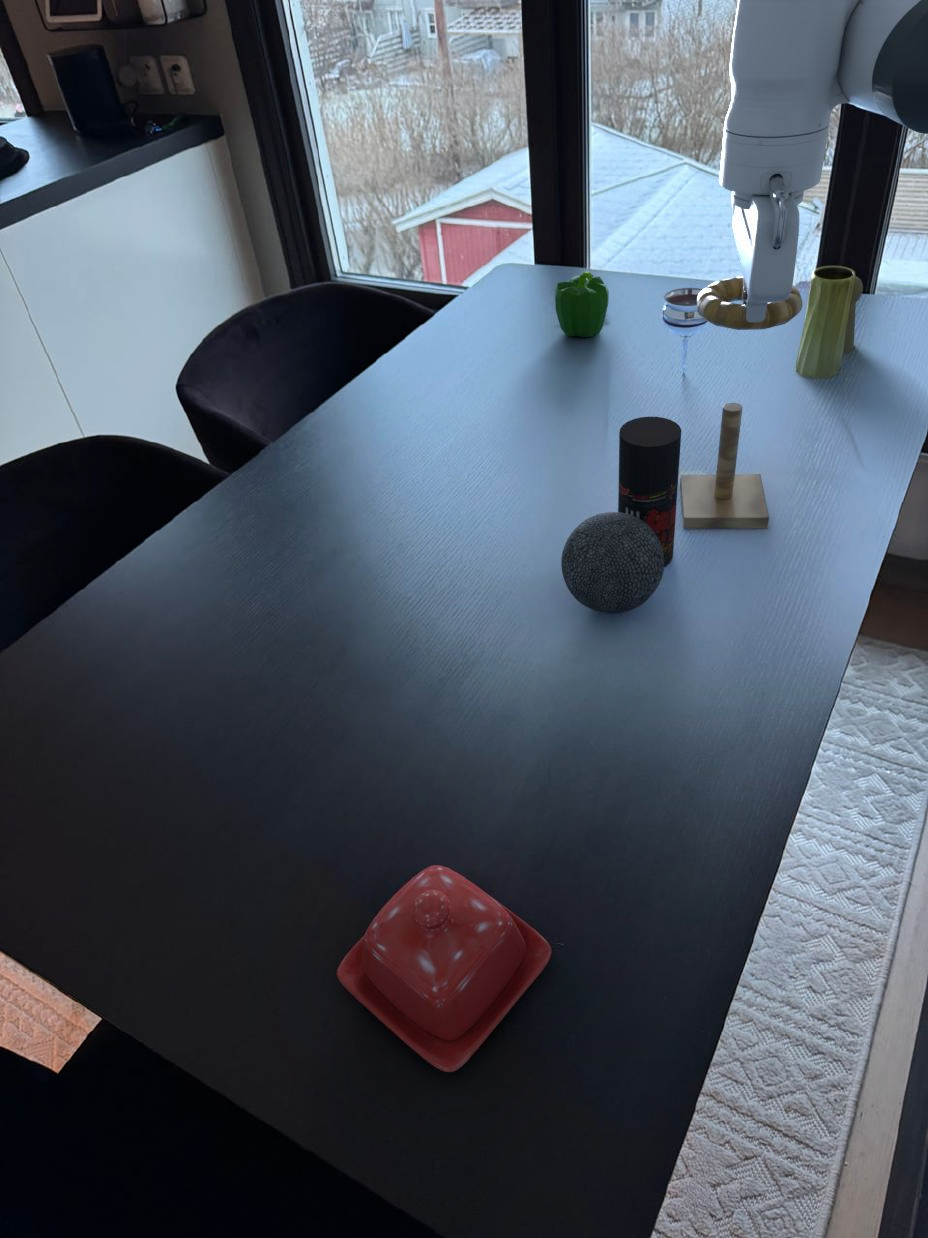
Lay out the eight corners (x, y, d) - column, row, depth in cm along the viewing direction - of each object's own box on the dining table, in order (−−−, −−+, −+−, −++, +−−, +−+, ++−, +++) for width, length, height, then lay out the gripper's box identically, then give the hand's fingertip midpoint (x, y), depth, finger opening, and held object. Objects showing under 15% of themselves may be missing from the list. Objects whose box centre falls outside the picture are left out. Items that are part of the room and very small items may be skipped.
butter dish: (451, 1091, 56) (435, 1030, 50) (331, 981, 62) (305, 916, 57) (561, 957, 62) (557, 889, 56) (441, 869, 68) (427, 801, 63)
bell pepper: (551, 325, 144) (549, 263, 138) (601, 318, 145) (601, 256, 138) (561, 346, 138) (559, 282, 132) (613, 339, 138) (614, 274, 132)
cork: (806, 361, 126) (818, 284, 119) (810, 344, 130) (822, 268, 123) (851, 364, 124) (866, 286, 117) (854, 346, 128) (869, 269, 121)
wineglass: (717, 380, 124) (725, 295, 117) (682, 396, 122) (688, 310, 114) (683, 365, 129) (688, 283, 121) (648, 380, 126) (651, 297, 119)
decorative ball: (651, 641, 85) (655, 558, 79) (551, 625, 88) (547, 544, 82) (670, 579, 92) (675, 498, 86) (576, 566, 95) (574, 487, 89)
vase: (807, 363, 126) (823, 261, 116) (848, 373, 122) (868, 269, 113) (784, 379, 123) (799, 275, 113) (825, 390, 119) (844, 284, 110)
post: (758, 484, 104) (772, 385, 96) (767, 528, 97) (782, 426, 89) (680, 485, 105) (686, 388, 97) (683, 529, 98) (690, 428, 90)
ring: (793, 294, 95) (797, 271, 94) (805, 332, 88) (809, 308, 86) (694, 296, 97) (696, 274, 96) (697, 334, 90) (699, 311, 88)
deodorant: (611, 567, 95) (612, 443, 85) (624, 535, 99) (627, 413, 89) (667, 575, 93) (674, 449, 83) (678, 542, 97) (686, 419, 87)
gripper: (826, 193, 71) (799, 355, 80) (794, 132, 86) (774, 274, 95) (744, 196, 72) (727, 357, 81) (727, 136, 88) (714, 276, 96)
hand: (752, 312), depth 88 cm, fingers closed on ring, 2 cm apart
